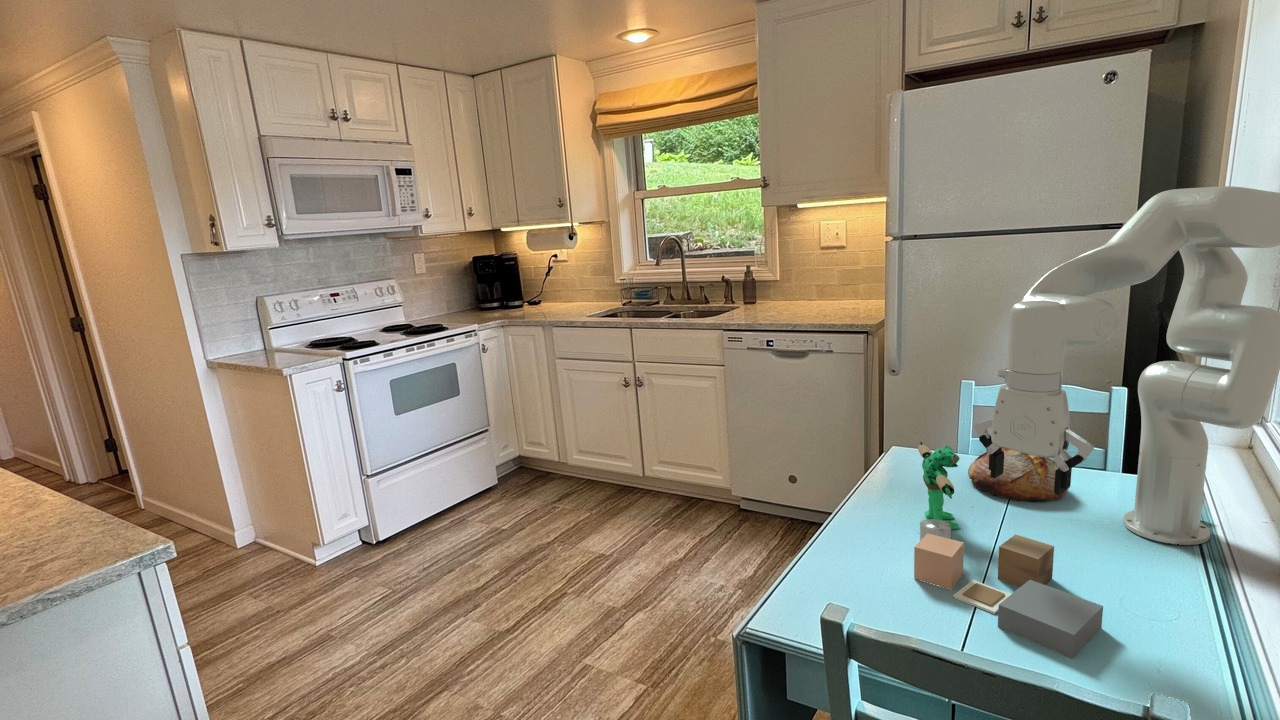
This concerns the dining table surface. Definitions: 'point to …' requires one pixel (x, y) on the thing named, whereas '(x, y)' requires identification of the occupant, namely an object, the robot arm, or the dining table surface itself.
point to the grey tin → (935, 528)
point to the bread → (1017, 477)
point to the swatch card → (981, 596)
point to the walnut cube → (1025, 561)
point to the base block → (1050, 618)
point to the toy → (938, 480)
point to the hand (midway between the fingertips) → (1027, 483)
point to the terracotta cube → (938, 560)
